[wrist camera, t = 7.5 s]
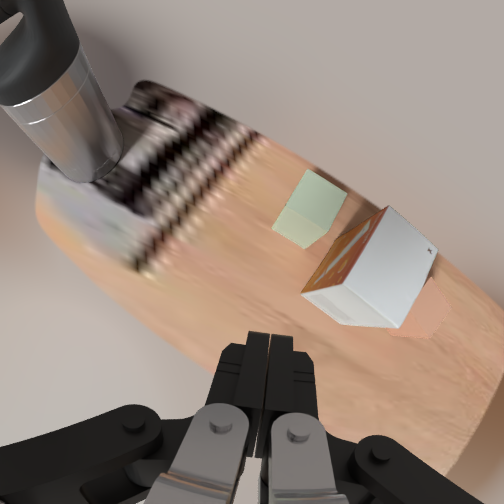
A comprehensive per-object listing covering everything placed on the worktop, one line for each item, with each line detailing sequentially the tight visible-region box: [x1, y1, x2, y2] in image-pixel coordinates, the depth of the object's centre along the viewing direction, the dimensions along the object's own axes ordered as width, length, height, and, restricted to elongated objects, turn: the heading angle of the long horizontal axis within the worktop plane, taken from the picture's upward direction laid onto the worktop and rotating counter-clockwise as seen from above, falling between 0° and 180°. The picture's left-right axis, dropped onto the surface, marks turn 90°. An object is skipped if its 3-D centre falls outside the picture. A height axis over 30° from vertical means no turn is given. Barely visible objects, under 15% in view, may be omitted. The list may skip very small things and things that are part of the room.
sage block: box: [271, 169, 347, 249], centre depth 32 cm, size 4×4×8 cm
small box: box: [301, 206, 438, 329], centre depth 29 cm, size 8×6×13 cm
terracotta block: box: [386, 277, 452, 338], centre depth 31 cm, size 4×4×8 cm
